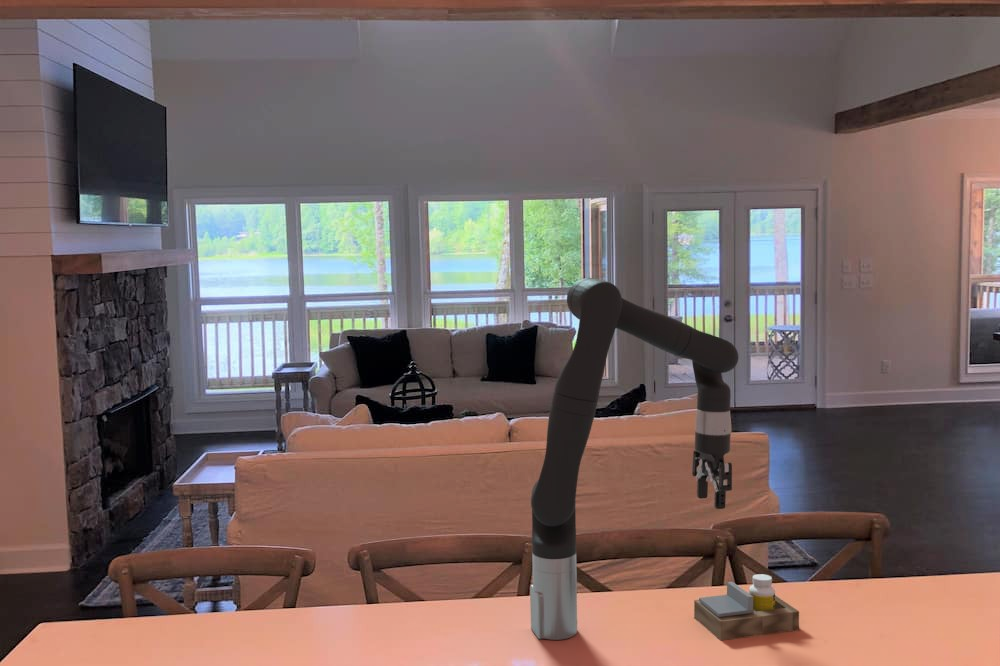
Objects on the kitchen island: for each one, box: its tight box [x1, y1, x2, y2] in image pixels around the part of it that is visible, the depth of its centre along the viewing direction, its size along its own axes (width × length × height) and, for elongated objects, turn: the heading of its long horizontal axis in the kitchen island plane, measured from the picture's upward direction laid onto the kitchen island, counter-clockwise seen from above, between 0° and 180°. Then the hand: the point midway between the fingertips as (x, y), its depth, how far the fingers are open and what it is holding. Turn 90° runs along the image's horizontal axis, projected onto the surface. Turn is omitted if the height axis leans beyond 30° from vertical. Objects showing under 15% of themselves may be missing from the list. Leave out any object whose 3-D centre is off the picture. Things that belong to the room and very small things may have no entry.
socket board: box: [693, 595, 800, 641], centre depth 194 cm, size 18×12×4 cm, turn 104°
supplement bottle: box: [748, 573, 776, 612], centre depth 195 cm, size 5×5×10 cm
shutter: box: [698, 581, 754, 617], centre depth 193 cm, size 8×9×4 cm
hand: (710, 503), depth 199 cm, fingers open, 8 cm apart
